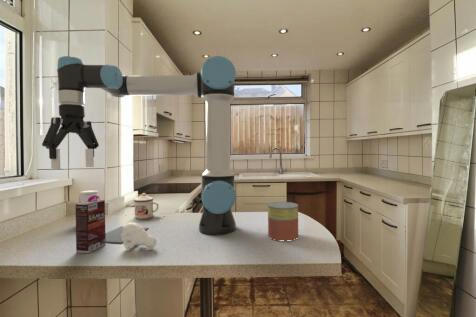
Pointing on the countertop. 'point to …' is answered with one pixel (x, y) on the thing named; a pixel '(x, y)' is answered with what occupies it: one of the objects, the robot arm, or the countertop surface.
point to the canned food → (283, 220)
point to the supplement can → (88, 196)
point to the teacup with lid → (144, 207)
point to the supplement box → (90, 226)
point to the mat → (116, 235)
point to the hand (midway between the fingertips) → (74, 168)
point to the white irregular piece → (136, 237)
